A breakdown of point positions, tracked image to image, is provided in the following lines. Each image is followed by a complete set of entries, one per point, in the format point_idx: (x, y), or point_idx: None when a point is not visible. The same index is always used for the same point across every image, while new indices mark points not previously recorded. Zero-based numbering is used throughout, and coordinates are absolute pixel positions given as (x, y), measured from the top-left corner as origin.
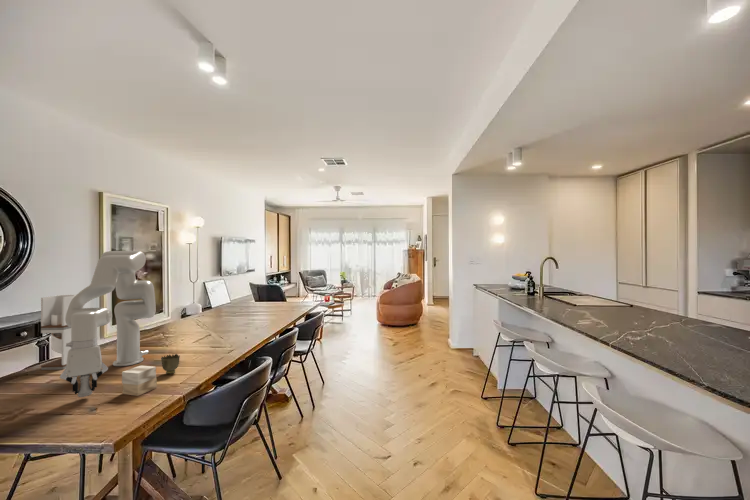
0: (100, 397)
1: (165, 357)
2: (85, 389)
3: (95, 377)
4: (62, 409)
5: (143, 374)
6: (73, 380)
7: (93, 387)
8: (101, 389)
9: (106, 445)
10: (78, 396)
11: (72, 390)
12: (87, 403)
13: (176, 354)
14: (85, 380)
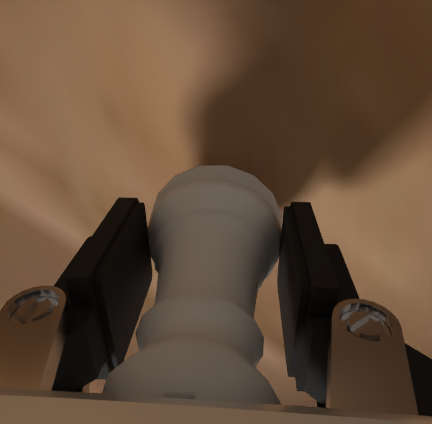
0: (94, 149)
1: None
2: (199, 213)
3: (25, 325)
4: (413, 4)
5: None
6: (377, 353)
7: (112, 214)
8: None
9: None
10: (270, 201)
11: (340, 251)
12: (184, 36)
13: None
14: (182, 314)
